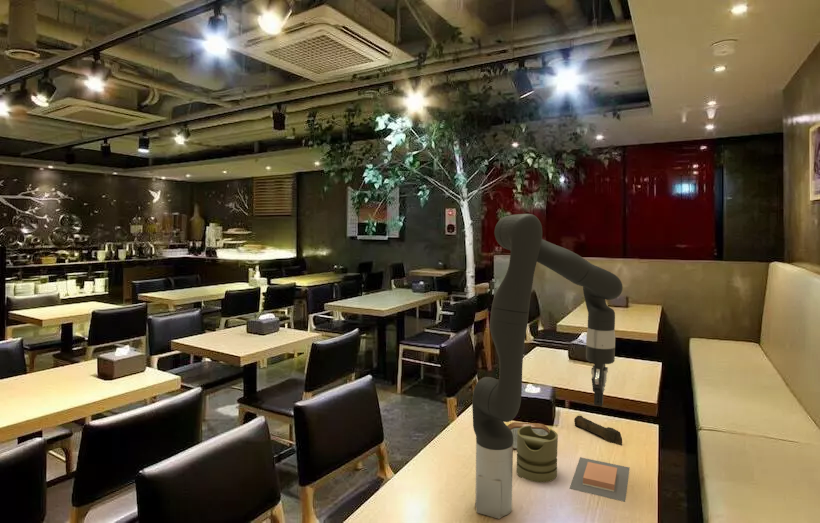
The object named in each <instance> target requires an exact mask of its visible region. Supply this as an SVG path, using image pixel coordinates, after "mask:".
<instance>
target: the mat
mask: <svg viewBox="0 0 820 523" xmlns="http://www.w3.org/2000/svg"><path fill="white" fill-rule="evenodd" d="M577 462H578V463H577V465H576V468H575V471H574V475H573V477H572V480H571V483H570V485H569V490H573V491H578V492H581V493H586V494H590V495H594V496H598V497H603V498H607V499H610V500H614V501H615V500H616V501H618V502H619V501H621V502H624V503H626V500H627V499H626V498H627V493H628V492H627V491H628V485H629V477H630V470H631V469H630V467H629V466H625V465H619V464H615V463H610V462H605V461H601V460H596V459H591V458H585V457H582V456H580V457H579V459H578V461H577ZM588 462H591V463H596V464H601V465H605V466H610V467H615V468H617V478H616V484H615V489H614V492H613V491H609V490H604V489H600V488H596V487H591V486H587V485H583V476H584V473H585V470H586V466H587V463H588Z"/></svg>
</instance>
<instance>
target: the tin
mask: <svg viewBox="0 0 820 523" xmlns="http://www.w3.org/2000/svg"><path fill="white" fill-rule="evenodd" d="M528 425H531V428H532V430H533V431H534V432H535V433H536V434H538V435H547V434H549V432H550V428H549V427H548V426H547V425H545V424H544V423H535V422H517V421H515V422H510V424H508V425H507V426H508V428H509V429H510V430H511V431H512V433H513V450H516V451H517V431H518V429H519V428H521V427H523V426H528Z"/></svg>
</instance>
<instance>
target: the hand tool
mask: <svg viewBox="0 0 820 523" xmlns="http://www.w3.org/2000/svg"><path fill="white" fill-rule="evenodd" d="M573 421H574V426H576V427H578V428H582V429H583V430H586V431H588V432H590V433H593V434H595V435H596V436H599V437H601V438H603V439H604V441H605V442H607V443H610V444H616V445H619V446H623V437H622V434H621V432H620V431H619V430H617V429H615V428H614V427H609V426H607V427H605V426H603V425H601V424H598V423H596V422H593V421H592V420H590V419H588V418H586V417H583V415H576V416H575V418H574V420H573Z"/></svg>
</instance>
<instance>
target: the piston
mask: <svg viewBox="0 0 820 523" xmlns="http://www.w3.org/2000/svg"><path fill="white" fill-rule="evenodd" d="M549 430H550V432H549V434H547V435H538V434H536V433H535V432H534V431H533V430H532V428H531V425H528V426H523V427H521V428H519V429H518V431H517V450H516V452H517V453H516V474H517V476H518V477H519V478H520V479H522V478H523V479H525V480H527V481H530V482H534V483H549V482H552V481H554V480H555V479H556V478H557V476H558V474H557V472H558V458H557V457H558V446H559V444H558V441H559V440H558V438H559V435H558V433H557V432H556V431H555V430H554V429H552V428H549Z"/></svg>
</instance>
